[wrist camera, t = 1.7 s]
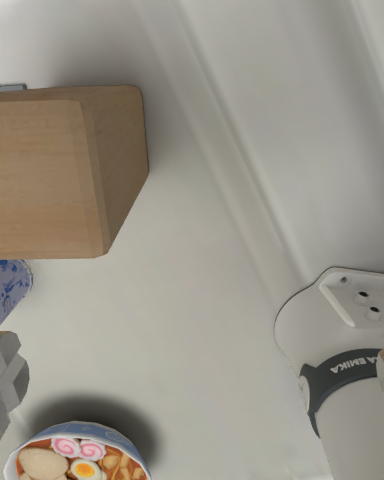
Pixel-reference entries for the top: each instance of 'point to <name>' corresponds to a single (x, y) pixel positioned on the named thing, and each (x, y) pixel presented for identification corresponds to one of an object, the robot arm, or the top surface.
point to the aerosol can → (13, 284)
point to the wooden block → (68, 169)
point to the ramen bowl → (76, 455)
